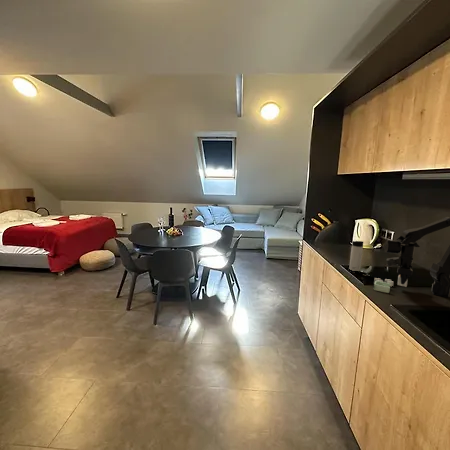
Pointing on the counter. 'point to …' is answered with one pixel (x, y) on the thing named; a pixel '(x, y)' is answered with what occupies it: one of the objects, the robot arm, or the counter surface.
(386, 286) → the end holder
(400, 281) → the connector block
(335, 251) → the counter surface
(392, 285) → the clip
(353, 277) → the counter surface
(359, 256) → the travel mug
